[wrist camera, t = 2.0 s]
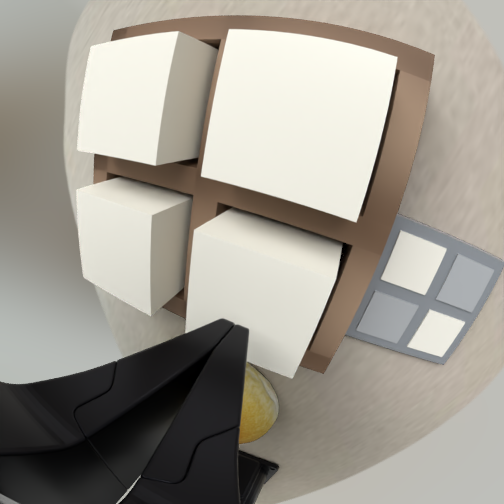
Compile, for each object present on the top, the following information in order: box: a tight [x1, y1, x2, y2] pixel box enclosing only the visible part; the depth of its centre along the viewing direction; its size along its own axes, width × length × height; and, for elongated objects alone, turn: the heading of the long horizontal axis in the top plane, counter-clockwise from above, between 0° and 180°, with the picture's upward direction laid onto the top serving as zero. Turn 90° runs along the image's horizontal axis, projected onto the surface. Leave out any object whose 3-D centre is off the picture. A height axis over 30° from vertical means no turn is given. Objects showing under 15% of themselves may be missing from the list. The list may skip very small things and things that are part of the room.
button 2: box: [201, 29, 398, 222], centre depth 7 cm, size 4×4×3 cm
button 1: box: [185, 207, 343, 379], centre depth 10 cm, size 4×4×3 cm
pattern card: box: [345, 213, 504, 365], centre depth 10 cm, size 6×6×1 cm
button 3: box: [76, 176, 193, 316], centre depth 11 cm, size 4×4×3 cm
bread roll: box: [239, 362, 279, 444], centre depth 16 cm, size 8×9×4 cm
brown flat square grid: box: [93, 15, 435, 374], centre depth 11 cm, size 13×13×2 cm
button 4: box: [77, 31, 219, 166], centre depth 9 cm, size 4×4×3 cm
